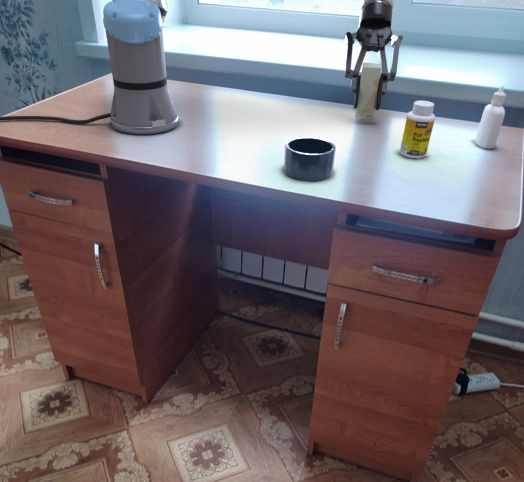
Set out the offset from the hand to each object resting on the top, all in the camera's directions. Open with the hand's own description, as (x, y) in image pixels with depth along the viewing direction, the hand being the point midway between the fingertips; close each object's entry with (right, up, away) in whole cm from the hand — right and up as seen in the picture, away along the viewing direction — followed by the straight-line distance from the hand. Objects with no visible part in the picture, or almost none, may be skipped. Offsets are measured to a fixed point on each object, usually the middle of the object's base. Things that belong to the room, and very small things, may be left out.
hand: (367, 106), depth 118 cm
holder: (-16, -22, -19) cm, 33 cm away
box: (0, 0, +5) cm, 5 cm away
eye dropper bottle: (+25, -11, -5) cm, 28 cm away
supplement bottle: (+7, -16, -10) cm, 20 cm away
